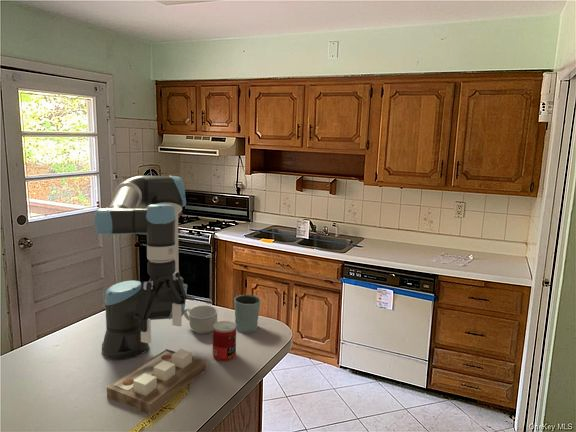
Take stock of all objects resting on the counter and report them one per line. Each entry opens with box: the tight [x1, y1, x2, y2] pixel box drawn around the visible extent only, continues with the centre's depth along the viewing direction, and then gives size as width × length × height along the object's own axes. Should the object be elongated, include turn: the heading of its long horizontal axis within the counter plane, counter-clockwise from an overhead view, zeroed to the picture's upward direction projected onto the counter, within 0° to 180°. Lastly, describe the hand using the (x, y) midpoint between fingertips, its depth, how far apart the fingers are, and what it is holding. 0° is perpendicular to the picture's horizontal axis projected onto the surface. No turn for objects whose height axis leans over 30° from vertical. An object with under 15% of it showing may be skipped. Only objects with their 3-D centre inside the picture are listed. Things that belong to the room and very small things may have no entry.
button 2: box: [172, 348, 193, 369], centre depth 135 cm, size 4×4×4 cm
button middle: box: [153, 360, 175, 382], centre depth 128 cm, size 4×4×4 cm
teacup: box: [183, 304, 218, 335], centre depth 164 cm, size 14×11×8 cm
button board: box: [106, 348, 207, 415], centre depth 129 cm, size 16×25×3 cm, turn 155°
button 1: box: [133, 373, 157, 396], centre depth 121 cm, size 4×4×4 cm
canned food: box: [212, 320, 237, 362], centre depth 145 cm, size 8×8×11 cm
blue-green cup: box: [233, 294, 261, 334], centre depth 167 cm, size 10×10×12 cm
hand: (162, 333), depth 121 cm, fingers open, 13 cm apart
